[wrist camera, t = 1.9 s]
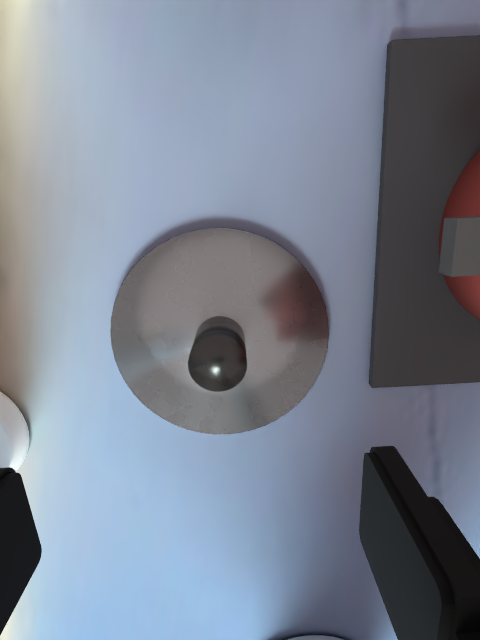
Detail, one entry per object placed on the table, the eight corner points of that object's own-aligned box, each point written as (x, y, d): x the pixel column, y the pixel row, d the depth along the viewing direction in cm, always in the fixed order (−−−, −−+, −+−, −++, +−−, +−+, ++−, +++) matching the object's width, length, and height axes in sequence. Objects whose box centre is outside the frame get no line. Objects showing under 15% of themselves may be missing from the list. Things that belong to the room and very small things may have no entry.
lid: (323, 420, 27) (342, 467, 22) (130, 431, 27) (108, 479, 22) (326, 221, 23) (351, 224, 18) (99, 233, 23) (64, 240, 18)
